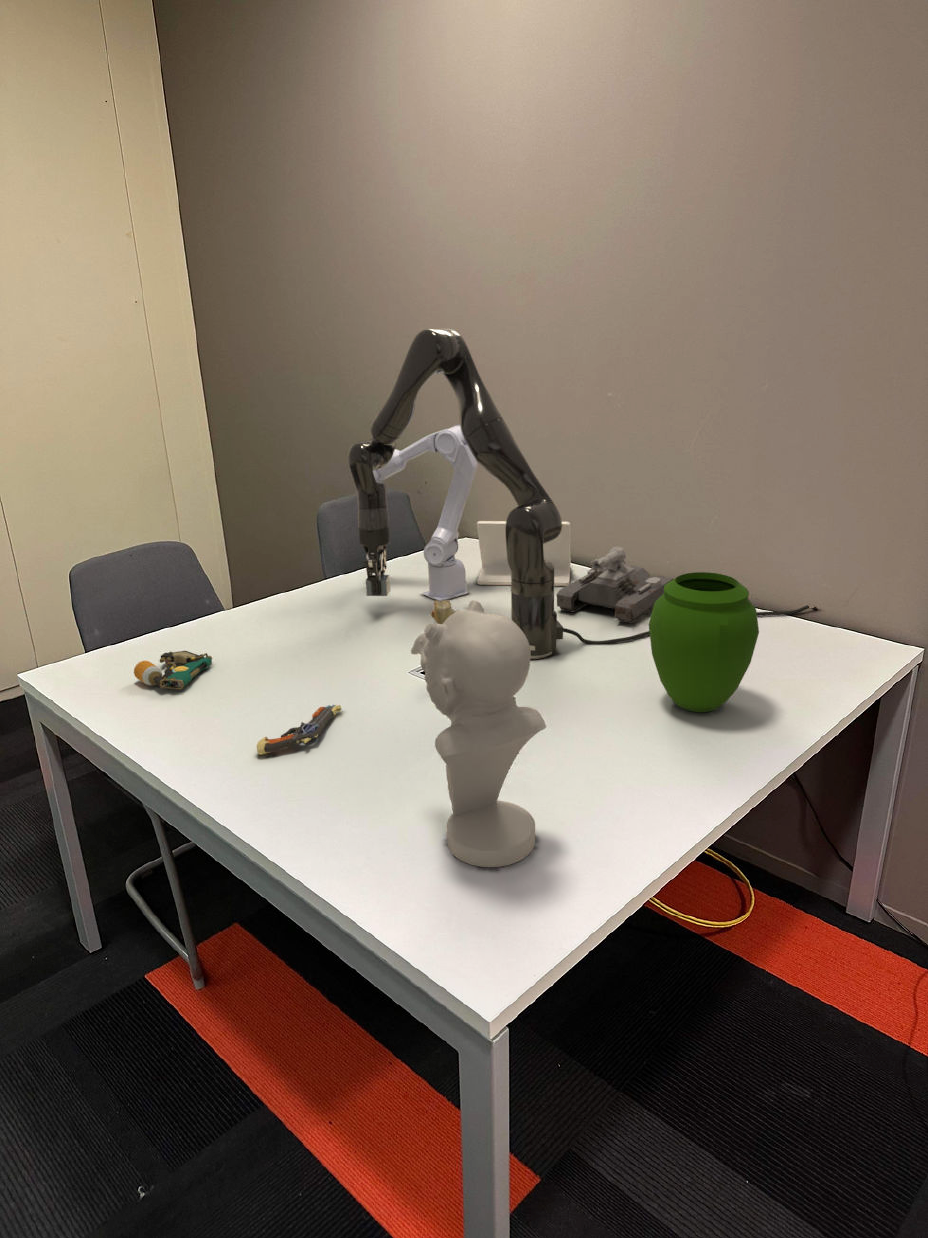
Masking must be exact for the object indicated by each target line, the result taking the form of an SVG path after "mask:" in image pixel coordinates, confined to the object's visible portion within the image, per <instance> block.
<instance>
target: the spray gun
mask: <svg viewBox="0 0 928 1238" xmlns="http://www.w3.org/2000/svg"><path fill="white" fill-rule="evenodd" d="M212 660H213V657H212V656H211V655H208V653H207V652H205V653H201V654H197V653H194V652H192V651H191V652H190V651H188V650H180V651H169V652H164V653H162V654H161V655H160V658H159V660H158V662H159V663H161V664H163V663H165V664H166V668H165V670H163V672H164V674H163V673H162V669H160V668H159V666H157V665H156V664H154V663H152V662H151V661H149V660H141V661H139V662H138V663H136V665H135V666H134V668H133V675H134V677H135V678H136V679H137V680H139V681H140V682H142V683H143V684H145V685H147V686H155V685H157V686H158V687H160V688H161V689H171V690H172V689H173V690H182V689H184V687H185V686H186V685H188V684H189V683H190V682H191V681H192V679H193V678H195V677H196V676H197V675H198V674H200V673H201V672H202V671H203V670H206V669H208V668H209V667H210V666H211V665H212V662H213V661H212ZM178 663H179V664H181V665H179V666H176V665H177V664H178Z"/></svg>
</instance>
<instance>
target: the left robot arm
mask: <svg viewBox="0 0 928 1238" xmlns="http://www.w3.org/2000/svg"><path fill="white" fill-rule="evenodd" d="M428 452H431V453H434V454H436V453H438V454H440V455H441V456H442V457H443V458H444V459H445V460H446V461H448V463H450V465H451V467H452V468H453V475H452V478H451V481H450V485H449V487H448V492H447V494H446V497H445V500H444V504H443V508H442V511H441V515H440V518H439V520H438V523H437V527H436V529H435V530H434V532H433V534H432V535H431V537H430V541H429V542H428V543H427V544H426V545H425V546H424V548H423V557H424V560H425V561H426V562H427V570H428V571H427V573H428V574H427V575H428V590H427V591H423V592H422V595H423V596H426V597H428V598H430V599H433V600H434V601H445V600H450V599H454V598H457V597H461V596H465V595H468V594H469V591H468V590H467V578H466V577H467V575H466V574H467V572H466V571H467V570H466V567H465V565H464V563H463V562H462V561H461V559H458V558H456V557H455V555H456V554H457V553H458V550H459V541H458V540H459V536H460V532H459V531H458V529H459V526H460V523H461V521H462V517H463V514H464V511H465V507H466V503H467V502H468V497H469V495H470V492H471V488H472V485H473V482H474V478H475V476H476V473H477V469H478V462H477V460H476V459H475V457H474V456H473V454H472V452H471V450H470V448H469V447H468V445H467V443H466V441H465V439H464V437H463V435H462V432H461V427H460V424H455V425H453V426H451V427H449V428H445V429H442V430H438V431H436V432H432V433H430V434H428V435H426V436H424V437H422V438H420V439H419V440H417V441H415V442H414V443H412V444H410V445H409V446H407V447H405V448H404V449H402V450H399V449H397V448H395V451H394V454H393V456H392V458H391V460H390V461H389V463H388V464H387V465H386V466H385V467H383V468H381V469H377V470H374V471H373V474H374V477H375V480H380V481H382V482H384V481H385V480H387V479H388V478H390V477H392V476H394V475H396V474H398V473H400V472H401V471H404V470H405V469H406V466H407V463H408V462H409V461H411V460H413V459H415V458H417V457H419V456H421V455H423V454H425V453H428ZM362 547H363V550H364V552H365V555H366V554H367V552H368V547H366V546H363V545H362Z"/></svg>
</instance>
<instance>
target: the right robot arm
mask: <svg viewBox="0 0 928 1238" xmlns="http://www.w3.org/2000/svg"><path fill="white" fill-rule="evenodd" d="M405 355H406V356H405V357H404V360H403V363H402V365H401V367H400V370H399V372H398V374H397V377H396V379H395V381H394V384H393V386H392V389H391V391H390V393H389V394H388V396H387V398H386V399H385V401H384V404H383V405H382V406H381V408H380V410H379V411H378V412H377V414H376V415H375V417H374V419H373V420H372V423H371V425H370V428H369V431H370V435H371V436H372V437H371V438H370V439H369V440H363V441H360V442H356V443H354V444H352V445H351V446H350V447H349V449H348V452H347V465H348V469H349V472H350V475H351V478H352V481H353V484H354V486H355V489H356V498H357V499H356V500H357V525H358V526H357V528H358V540H359V544H360V545H361V546H362V547H363V546H366V547H368V552H367V554H366V553H365V555H366V558H365V560H364V563H365V570H366V576H367V577H366V578H368V581H371V588H372V595H381V582H380V580H381V577H380V575H386V570H387V549H388V548H387V545H389V544H390V543H391V540H392V539H391V526H390V525H391V524H390V514H389V508H388V495H387V486H386V484H385V483H384V481H380V480H375V477H374V474H373V471H374V470H377V469H381V468H383V467H385V466H386V465H387V464H388V463H389V461H390V460H391V458H392V456H393V454H394V451H395V449H397V444H398V441H399V439H400V438H401V436H402V435H403V434H404V432H405V431H406V429H407V428H408V426H409V425H410V422H411V421H412V419H413V416H414V413H415V407H416V401H417V397H418V394H419V392H420V390H421V389H422V388H423V386H424V384H425V383H426V382H427V381H428V380H429V378H431V377H432V376H433V375H442V374H443V376H444V377H445V378H446V380H447V382H448V383H449V385H450V387H451V389H452V391H453V393H454V395H455V398H456V400H457V405H458V417H459V425H460V427H461V432H462V435H463V437H464V439H465V441H466V443H467V445H468V447H469V448H470V450H471V452H472V454H473V456H474V457H475V459H476V461H477V464H479V466H481V467H482V468H483V469H484V470H485V471H486V472H488V473H489V474H490V475H491V476H492V477H493V478H495V479H496V480H497V481H499V482H500V483H501V484H502V485H503V486H504V487H505V488H506V489H507V490H508V492H509V493H510V494H511V496H512V497H513V500H514V501H515V503H516V505H517V506H516V507H514V508H513V509H511V511H510V512H509V513H508V514H507V517H506V520H505V521H506V527H505V534H506V551H507V562H508V565H509V568H510V570H511V585H510V588H511V589H510V597H511V599H510V603H511V604H510V606H511V607H510V609H511V610H510V615H511V617H510V619H511V620H512V621H513V622H514V623H515V624H516V625H517V626H518V627H519V628H520V629H521V630H522V632H523V633H524V634H525V636H526V638H527V640H528V643H529V646H530V652H531V653H530V655H531V656H530V660H540V659H545V658H548V657H550V656H552V655H557V654H558V653H557V650H558V649H557V648H558V647H557V645H558V644H557V643H558V641H560V640H564V633H566V634H570V635H573V636H575V637H576V638H577V639H578V640H579V641H580V642H582V643H584V644H587V645H610V644H616V643H617V644H618V643H622V642H623V643H624V642H628V641H632V640H637V639H639V638H642V637H647V636H650V632H649V630H647V631H643V632H641V633H637V634H634V635H630V636H626V637H625V636H624V637H619V638H612V639H606V640H590V639H585V638H583V636H582V635H581V634H580V633H579V632H577V631H575V630H573V629H569V628H566V627H564V626H563V625H562V624H561V623H560V622H559V620H558V613H557V612H556V611H555V586H554V565H553V564H552V563H551V562H550V561H547V560H544V552H543V544H545V543H548V542H550V541H552V540H554V539H556V538H557V537H558V536H559V534H560V532H561V529H562V522H563V520H562V517H561V513H560V511H559V509H558V507H557V505H556V504H555V502H554V500H553V499H552V498H551V496H550V495H549V493H548V492H547V491H546V489H545V488H544V486H543V485H542V483H541V482H540V481H539V479H538V477H536V475H535V473H534V471H533V469H532V468H531V466H530V465H529V463H528V461H527V459H526V457H525V456H524V454H523V452H522V450H521V449H520V447H519V445H518V444H517V442H516V440H515V438H514V436H513V434H512V432H511V431H510V428H509V426H508V425H507V423H506V420H505V419H504V418H503V416H502V414H501V412H500V411H499V409H498V408H497V405H496V404H495V402H494V400H493V398H492V396H491V395H490V394H491V393H489V390H488V389H487V387H486V385H485V383H484V381H483V379H482V378H481V375H480V373H479V371H478V368H477V366H476V364H475V361H474V359H473V356H472V354H471V351H470V349H469V347H468V345H467V342H466V341H465V340H464V338H463V336H462V335H461V334H460V333H459V332H458V331H456V330H455V329H452V328H449V327H448V328H447V327H437V328H436V327H433V328H431V327H429V328H425V329H422V330H421V331H419V332H418V333H417V334H415V337H414V338H413V339H412V341H411V343H410V346H409V348H408V350H407V352H406V354H405ZM373 575H375V576H373ZM808 605H809V604H807V605H804V606H802V607H800V608H797V609H792V610H779V611H756V612H757V617H758V616H760V617H761V616H784V615H785V616H786V615H787V616H788V615H795V614H798V613H801V612H804V611H806V610H809V609H810V608H809V606H808ZM811 610H813V611H816V612H817V611H818V612H819V608H818V607H817V606H815V607H814V608H811Z"/></svg>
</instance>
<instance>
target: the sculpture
mask: <svg viewBox="0 0 928 1238" xmlns="http://www.w3.org/2000/svg"><path fill="white" fill-rule="evenodd" d="M455 612H456V611H455V609H453V608H452V602H451V601H450V599H447V600H444V601H437V600H433V610H431V612H430V617H431V618H432V619H433V620H434V621H435V622H436V623H435V624H443V623H444V622H445V620H446V619H447V618H448V617H450V616H451V615H452V614H453V613H455Z"/></svg>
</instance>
